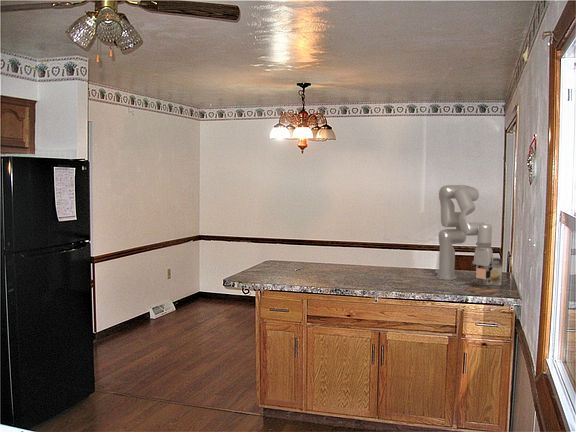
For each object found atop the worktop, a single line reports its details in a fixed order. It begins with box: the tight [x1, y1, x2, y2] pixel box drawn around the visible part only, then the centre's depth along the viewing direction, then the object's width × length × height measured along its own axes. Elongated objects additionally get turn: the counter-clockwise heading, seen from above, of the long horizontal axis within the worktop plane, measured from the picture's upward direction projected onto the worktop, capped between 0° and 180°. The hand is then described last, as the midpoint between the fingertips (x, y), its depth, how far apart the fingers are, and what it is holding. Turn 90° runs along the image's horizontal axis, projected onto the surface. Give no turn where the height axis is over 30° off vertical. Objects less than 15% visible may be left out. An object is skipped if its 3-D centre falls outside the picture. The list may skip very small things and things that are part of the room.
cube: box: [475, 266, 491, 280], centre depth 318 cm, size 6×6×6 cm
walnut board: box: [464, 285, 502, 296], centre depth 319 cm, size 14×14×1 cm
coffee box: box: [482, 257, 503, 286], centre depth 338 cm, size 9×6×16 cm
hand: (483, 276), depth 318 cm, fingers closed on cube, 5 cm apart
